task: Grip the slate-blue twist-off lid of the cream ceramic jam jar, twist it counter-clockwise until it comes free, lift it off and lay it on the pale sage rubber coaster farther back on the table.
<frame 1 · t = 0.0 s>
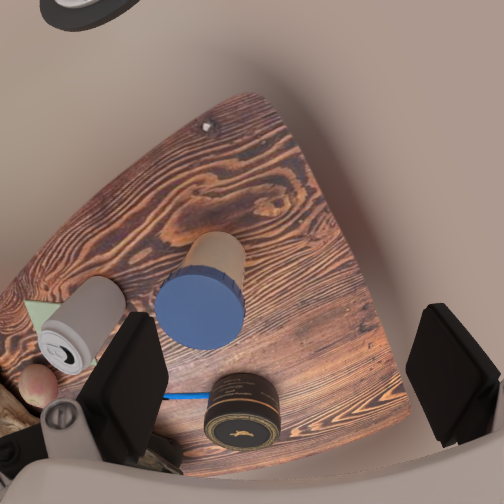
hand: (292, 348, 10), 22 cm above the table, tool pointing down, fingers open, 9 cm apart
jar lid: (198, 312, 23), point 10 cm above the table, screwed on, not yet turned
beverage can: (106, 295, 35), on the table
stone bowl: (134, 435, 47), on the table
coaster: (60, 332, 38), on the table
pen: (192, 392, 41), on the table
jar: (244, 391, 40), on the table
apple: (49, 371, 42), on the table
jam jar: (217, 258, 32), on the table
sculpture: (31, 412, 50), on the table
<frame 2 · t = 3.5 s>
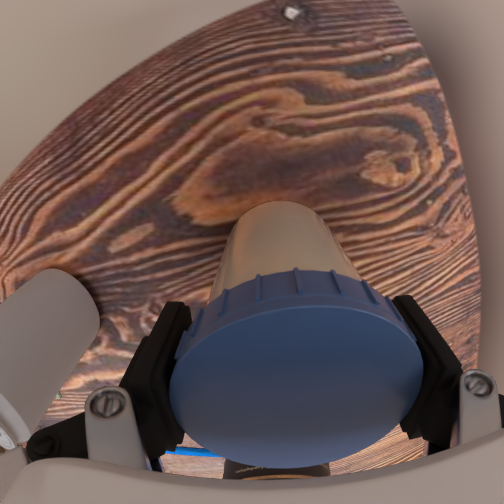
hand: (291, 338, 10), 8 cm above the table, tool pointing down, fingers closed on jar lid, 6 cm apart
jar lid: (299, 403, 7), point 10 cm above the table, screwed on, not yet turned, touching gripper
beverage can: (69, 301, 19), on the table
pen: (197, 447, 26), on the table
jar: (276, 448, 25), on the table
jam jar: (280, 254, 17), on the table
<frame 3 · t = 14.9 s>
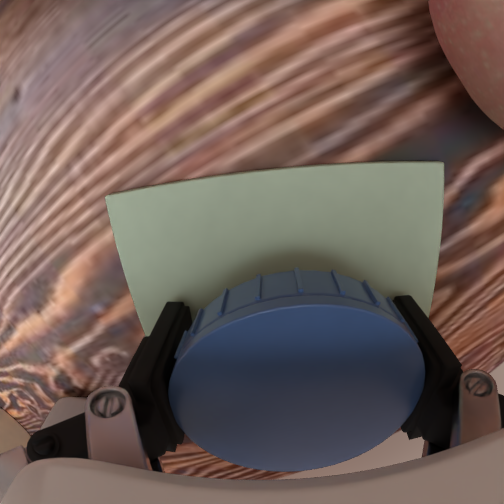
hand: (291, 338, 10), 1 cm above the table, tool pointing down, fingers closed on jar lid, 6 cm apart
jar lid: (299, 405, 7), point 4 cm above the table, off its thread, touching gripper
beverage can: (106, 421, 14), on the table
coaster: (290, 323, 11), on the table
apple: (473, 48, 7), on the table
jam jar: (8, 424, 17), on the table
when the fingers open (1 cm above the table, at t = 23.7 s): jar lid drops 3 cm, resting on coaster.
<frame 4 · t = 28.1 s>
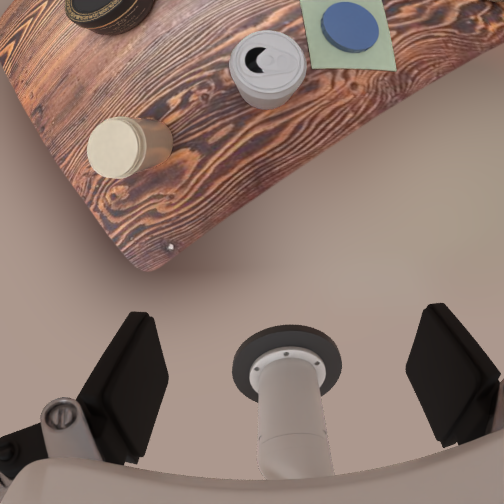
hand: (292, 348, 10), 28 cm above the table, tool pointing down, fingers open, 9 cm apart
jar lid: (351, 25, 26), point 2 cm above the table, off its thread, touching coaster
beverage can: (266, 84, 31), on the table
coaster: (348, 30, 28), on the table
jar: (124, 8, 27), on the table
jam jar: (149, 143, 34), on the table
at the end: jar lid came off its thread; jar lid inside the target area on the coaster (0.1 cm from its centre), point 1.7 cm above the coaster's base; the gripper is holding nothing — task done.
